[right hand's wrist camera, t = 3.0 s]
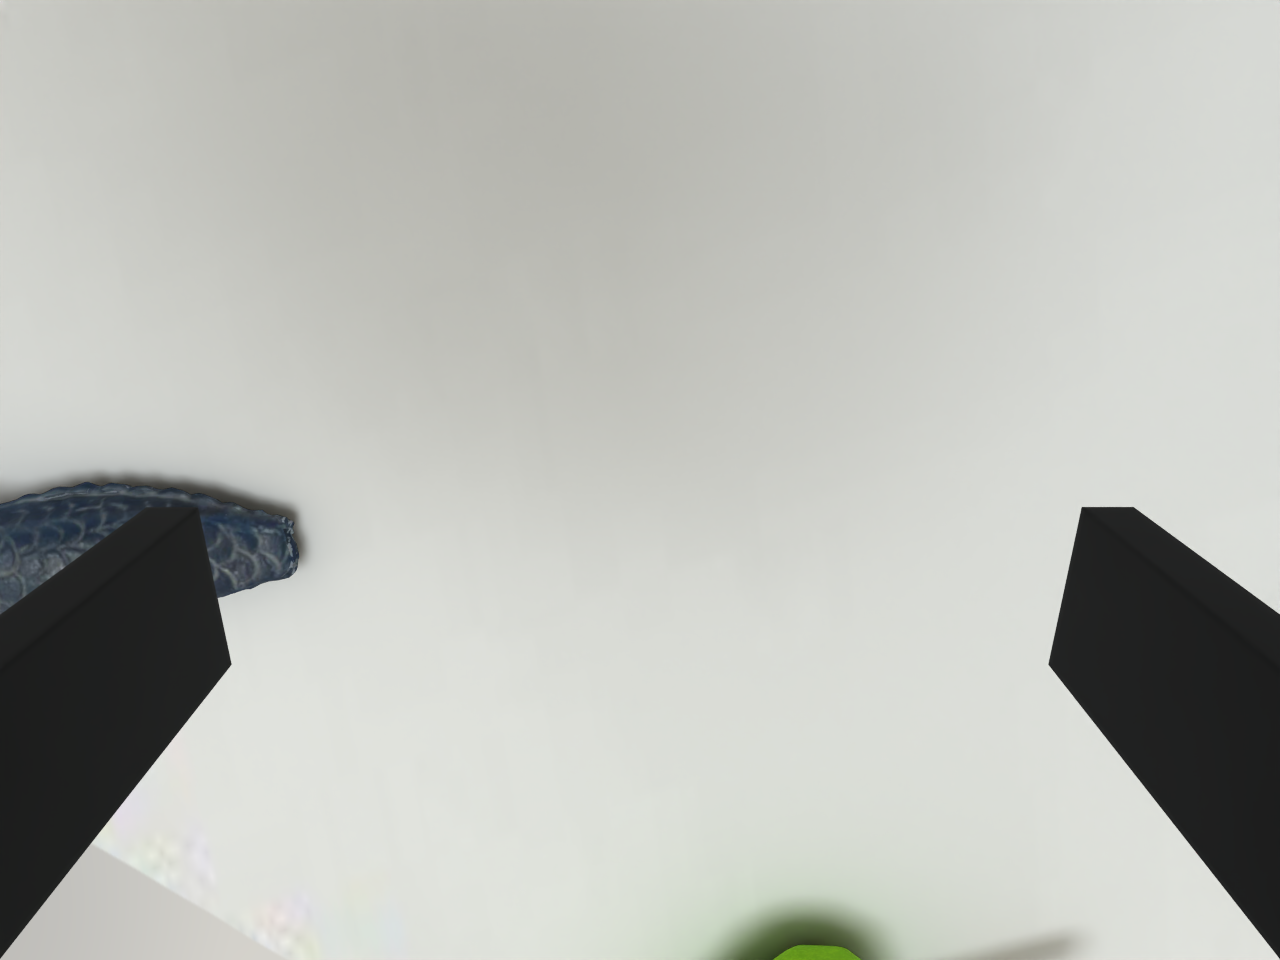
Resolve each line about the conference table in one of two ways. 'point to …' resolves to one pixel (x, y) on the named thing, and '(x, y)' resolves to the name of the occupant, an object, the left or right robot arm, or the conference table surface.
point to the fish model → (87, 513)
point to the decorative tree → (817, 953)
